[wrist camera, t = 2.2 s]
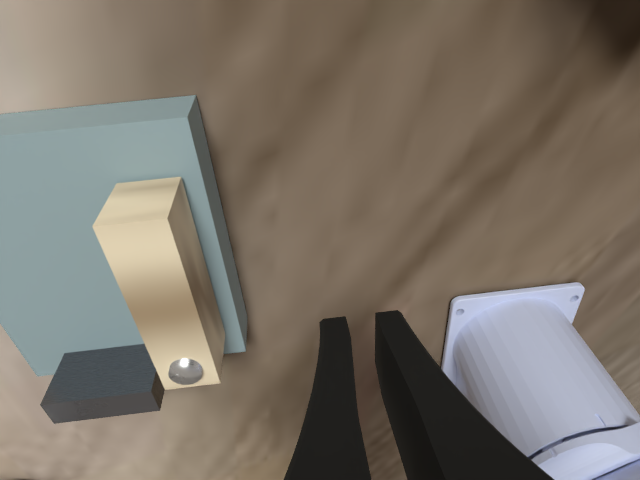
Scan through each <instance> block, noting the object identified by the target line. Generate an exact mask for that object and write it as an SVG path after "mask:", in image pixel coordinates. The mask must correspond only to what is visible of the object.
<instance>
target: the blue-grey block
mask: <svg viewBox="0 0 640 480" xmlns="http://www.w3.org/2000/svg"><path fill="white" fill-rule="evenodd" d="M172 177H181V178H182V181H183V185H184V188H185V192H186V196H187V199H188V203H189V206H190V210H191V213H192V217H193V220H194V224H195V228H196V231H197V235H198V238H199V242H200V245H201V249H202V252H203V256H204V260H205V263H206V267H207V270H208V274H209V277H210V281H211V284H212V288H213V292H214V295H215V299H216V302H217V306H218V309H219V313H220V316H221V320H222V324H223V327H224V331H225V342H224V352H223V354H228V353H237V352H245V351H246V338H247V313H246V309H245V305H244V300H243V296H242V292H241V287H240V283H239V279H238V274H237V270H236V266H235V261H234V257H233V253H232V248H231V244H230V240H229V235H228V231H227V227H226V223H225V218H224V214H223V210H222V205H221V201H220V197H219V192H218V188H217V184H216V179H215V175H214V171H213V166H212V162H211V158H210V153H209V149H208V145H207V140H206V136H205V132H204V127H203V123H202V119H201V114H200V110H199V106H198V101H197V97H196V95H192V96H182V97H172V98H162V99H151V100H141V101H131V102H121V103H111V104H100V105H90V106H80V107H70V108H59V109H49V110H39V111H29V112H18V113H8V114H0V324H1V325H2V327H3V328H4V330H5V331H6V332H7V334H8V335H9V337H10V338H11V340H12V341H13V342H14V344H15V345H16V347H17V348H18V349H19V351H20V352H21V354H22V355H23V357H24V358H25V359H26V361H27V362H28V364H29V365H30V367H31V368H32V369H33V371H34V372H35V374H36V375H37V376H45V375H53V374H54V377H53V379H52V381H51V383H50V385H49V387H48V389H47V392H46V394H45V396H44V398H43V400H42V402H41V407H42V408H43V409H44V411H45V412H46V413H47V415H48V416H49V417H50V419H51V420H52V422H53V423H54V424H55V423H63V422H71V421H79V420H87V419H95V418H103V417H111V416H119V415H127V414H136V413H144V412H152V411H160V408H161V404H162V399H163V394H164V390H165V389H164V386H163V384H162V382H161V380H160V377H159V375H158V373H157V371H156V368H155V366H154V364H153V362H152V359H151V357H150V355H149V353H148V350H147V348H146V346H145V344H144V341H143V339H142V337H141V335H140V333H139V330H138V328H137V326H136V324H135V321H134V319H133V317H132V315H131V312H130V310H129V308H128V306H127V303H126V301H125V299H124V297H123V294H122V292H121V290H120V288H119V285H118V283H117V281H116V279H115V276H114V274H113V272H112V270H111V268H110V265H109V263H108V261H107V259H106V256H105V254H104V252H103V250H102V247H101V245H100V243H99V241H98V238H97V236H96V234H95V232H94V229H93V227H92V226H93V224H94V222H95V221H96V219H97V217H98V215H99V213H100V212H101V210H102V208H103V206H104V205H105V203H106V201H107V199H108V198H109V196H110V194H111V192H112V190H113V189H114V187H115V185H116V183H125V182H134V181H144V180H153V179H163V178H172Z"/></svg>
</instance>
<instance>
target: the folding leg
mask: <svg viewBox="0 0 640 480" xmlns="http://www.w3.org/2000/svg"><path fill="white" fill-rule="evenodd" d="M92 227H93V229H94V232H95V234H96V236H97V238H98V241H99V243H100V245H101V247H102V250H103V252H104V254H105V256H106V259H107V261H108V263H109V265H110V268H111V270H112V272H113V274H114V276H115V279H116V281H117V283H118V285H119V288H120V290H121V292H122V294H123V297H124V299H125V301H126V303H127V306H128V308H129V310H130V312H131V315H132V317H133V319H134V321H135V324H136V326H137V328H138V330H139V333H140V335H141V337H142V339H143V341H144V344H145V346H146V348H147V350H148V353H149V355H150V357H151V359H152V362H153V364H154V366H155V368H156V371H157V373H158V375H159V377H160V380H161V382H162V384H163V386H164V389H165V390H168V389H177V388H185V387H193V386H201V385H209V384H218V383H220V382H221V372H222V362H223V352H224V342H225V331H224V327H223V324H222V320H221V316H220V313H219V309H218V306H217V302H216V299H215V295H214V292H213V288H212V284H211V281H210V277H209V274H208V270H207V267H206V263H205V260H204V256H203V252H202V249H201V245H200V242H199V238H198V235H197V231H196V228H195V224H194V220H193V217H192V213H191V210H190V206H189V203H188V199H187V196H186V192H185V188H184V185H183V181H182V178H181V177H172V178H163V179H153V180H144V181H134V182H125V183H116V185H115V187H114V189H113V190H112V192H111V194H110V196H109V198H108V199H107V201H106V203H105V205H104V206H103V208H102V210H101V212H100V213H99V215H98V217H97V219H96V221H95V222H94V224H93V226H92Z"/></svg>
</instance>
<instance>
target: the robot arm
mask: <svg viewBox="0 0 640 480" xmlns="http://www.w3.org/2000/svg"><path fill="white" fill-rule="evenodd" d="M584 290H585V289H584V287H583V286H582V284H581V283H578V282H575V283H566V284H558V285H549V286H541V287H532V288H524V289H515V290H506V291H498V292H489V293H481V294H472V295H464V296H458V297H455V298H454V299H453V300H452V301H451V304H450V311H449V318H448V325H447V332H446V339H445V345H444V352H443V359H442V366H441V368H440V367H439V366H438V364H437V363H436V362H435V361H434V359H433V358H432V357H431V356H430V354H429V353H428V352H427V350H426V349H425V348H424V346H423V345H422V343H421V342H420V341H419V339H418V338H417V337H416V335H415V334H414V332H413V331H412V329H411V328H410V326H409V325H408V323H407V322H406V320H405V318H404V317H403V315H402V313H401V312H399V311H398V310H396V311H387V312H379V313H376V315H375V363H376V369H377V374H378V379H379V384H380V389H381V394H382V398H383V401H384V405H385V408H386V411H387V414H388V418H389V421H390V424H391V427H392V430H393V434H394V437H395V440H396V443H397V446H398V450H399V453H400V456H401V459H402V463H403V466H404V469H405V472H406V475H407V479H408V480H640V415H639V414H638V413H637V411H636V410H635V409H634V407H633V406H632V405H631V403H630V402H629V400H628V399H627V398H626V396H625V395H624V394H623V392H622V391H621V390H620V388H619V387H618V386H617V384H616V383H615V382H614V380H613V379H612V378H611V376H610V375H609V374H608V372H607V371H606V370H605V368H604V367H603V366H602V364H601V363H600V362H599V360H598V359H597V358H596V356H595V355H594V354H593V352H592V351H591V350H590V348H589V347H588V346H587V344H586V343H585V342H584V340H583V339H582V338H581V336H580V335H579V334H578V332H577V331H576V330H575V328H574V327H573V326H572V322H573V320H574V317H575V314H576V312H577V309H578V306H579V304H580V301H581V299H582V296H583V293H584ZM459 309H460V310H459ZM457 310H458V311H457ZM284 480H371V476H370V471H369V467H368V462H367V457H366V453H365V448H364V443H363V438H362V433H361V428H360V423H359V417H358V410H357V402H356V391H355V379H354V368H353V357H352V345H351V337H350V332H349V328H348V324H347V321H346V317H336V318H328V319H323V320H322V321H321V322H320V347H319V355H318V363H317V368H316V373H315V379H314V384H313V389H312V393H311V397H310V401H309V404H308V408H307V412H306V416H305V420H304V423H303V426H302V430H301V433H300V436H299V439H298V442H297V445H296V448H295V451H294V454H293V457H292V459H291V462H290V465H289V467H288V470H287V473H286V475H285V478H284Z"/></svg>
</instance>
